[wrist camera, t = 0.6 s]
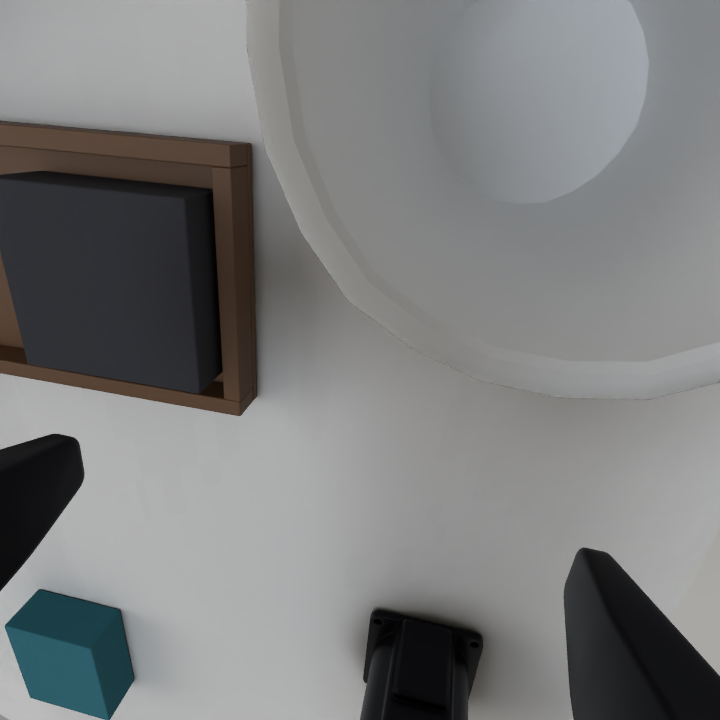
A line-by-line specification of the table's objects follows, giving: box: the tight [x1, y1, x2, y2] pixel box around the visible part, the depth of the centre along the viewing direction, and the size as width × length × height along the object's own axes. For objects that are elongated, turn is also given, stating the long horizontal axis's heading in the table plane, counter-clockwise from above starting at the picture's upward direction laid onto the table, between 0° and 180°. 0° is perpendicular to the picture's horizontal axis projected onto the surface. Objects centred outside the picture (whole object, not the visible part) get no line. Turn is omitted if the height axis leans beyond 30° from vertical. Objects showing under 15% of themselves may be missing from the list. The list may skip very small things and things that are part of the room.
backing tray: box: [0, 121, 257, 416], centre depth 23 cm, size 12×20×2 cm, turn 86°
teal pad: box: [5, 590, 134, 720], centre depth 36 cm, size 8×6×3 cm
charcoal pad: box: [0, 171, 223, 394], centre depth 21 cm, size 8×8×3 cm
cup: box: [247, 0, 720, 400], centre depth 11 cm, size 10×10×13 cm
